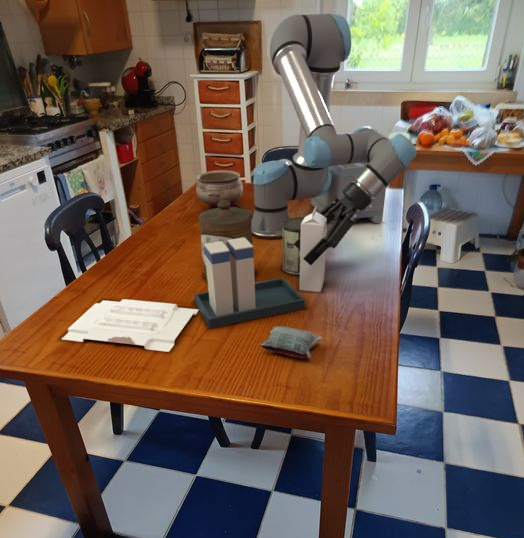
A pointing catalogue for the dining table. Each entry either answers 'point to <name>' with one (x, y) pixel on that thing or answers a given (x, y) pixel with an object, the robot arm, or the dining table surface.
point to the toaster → (338, 183)
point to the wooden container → (224, 226)
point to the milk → (310, 236)
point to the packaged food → (291, 341)
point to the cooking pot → (219, 187)
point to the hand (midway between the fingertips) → (301, 254)
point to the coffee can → (291, 245)
